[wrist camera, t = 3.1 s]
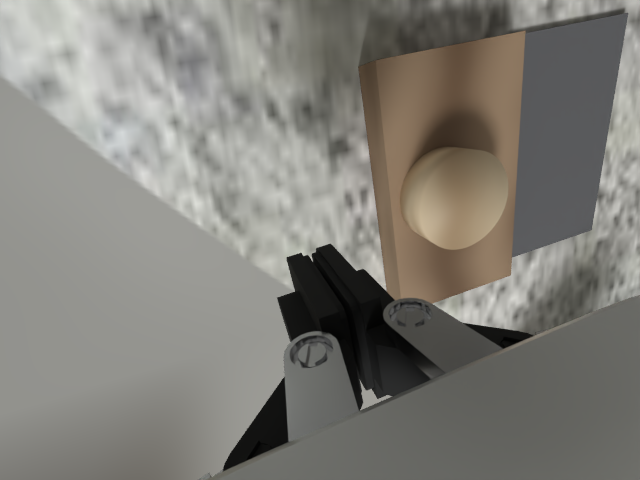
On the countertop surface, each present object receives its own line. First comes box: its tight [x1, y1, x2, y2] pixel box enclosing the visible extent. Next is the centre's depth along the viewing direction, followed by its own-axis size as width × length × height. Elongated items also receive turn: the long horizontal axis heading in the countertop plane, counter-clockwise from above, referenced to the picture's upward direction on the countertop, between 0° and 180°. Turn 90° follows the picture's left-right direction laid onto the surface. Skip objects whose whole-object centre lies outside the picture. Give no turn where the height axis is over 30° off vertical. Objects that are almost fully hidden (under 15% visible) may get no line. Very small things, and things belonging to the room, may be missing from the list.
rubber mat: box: [512, 13, 628, 257], centre depth 21 cm, size 9×14×1 cm, turn 11°
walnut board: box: [358, 31, 525, 304], centre depth 18 cm, size 8×14×2 cm, turn 11°
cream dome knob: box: [400, 147, 508, 250], centre depth 16 cm, size 5×5×2 cm
